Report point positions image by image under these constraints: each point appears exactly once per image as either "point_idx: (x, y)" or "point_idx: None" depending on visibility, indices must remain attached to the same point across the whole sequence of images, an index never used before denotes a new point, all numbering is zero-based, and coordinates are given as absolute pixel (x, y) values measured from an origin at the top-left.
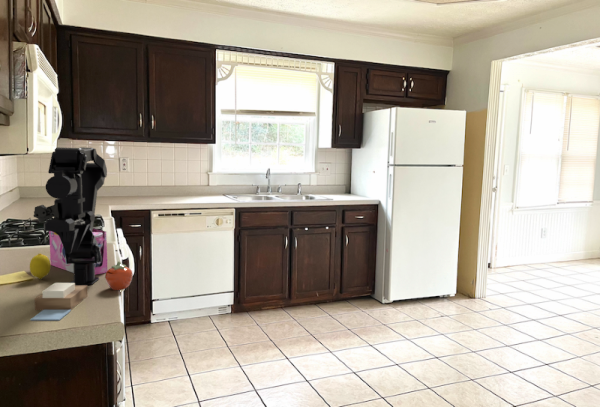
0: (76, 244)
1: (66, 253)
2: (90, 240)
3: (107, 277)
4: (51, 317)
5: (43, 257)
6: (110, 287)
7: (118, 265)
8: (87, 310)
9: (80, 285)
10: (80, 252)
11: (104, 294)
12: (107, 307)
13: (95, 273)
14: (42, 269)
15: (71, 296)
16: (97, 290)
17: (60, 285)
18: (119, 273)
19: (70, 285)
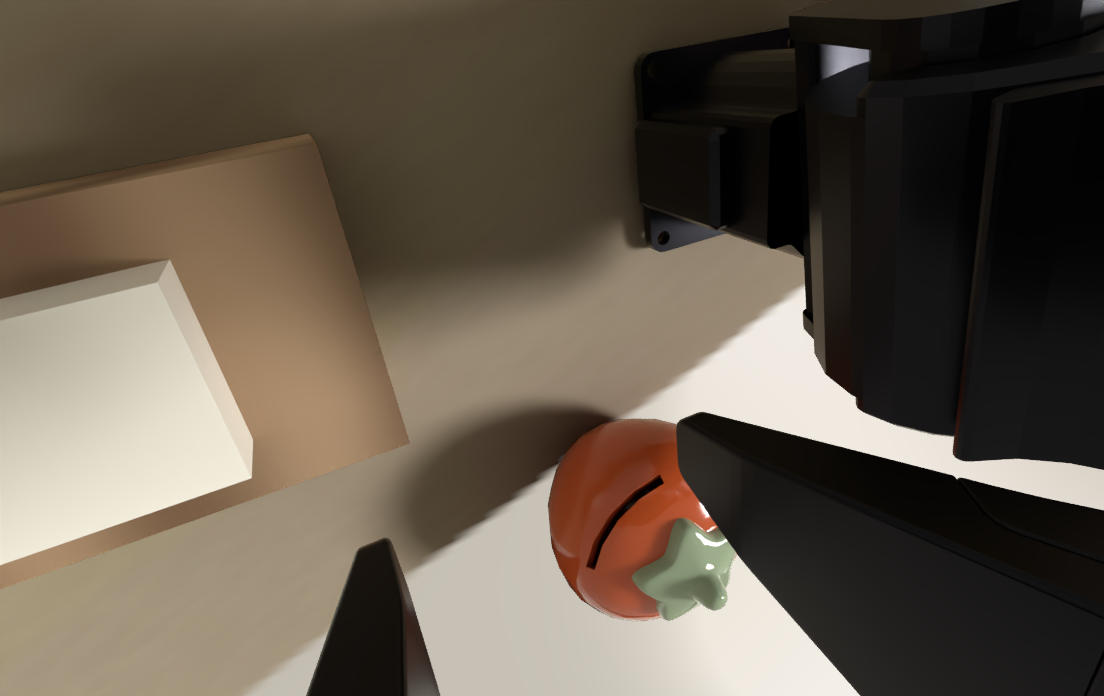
0: (747, 528)
1: (357, 558)
2: (1032, 445)
3: (576, 504)
4: None
5: None
6: (567, 451)
7: (680, 596)
8: (73, 621)
9: (390, 394)
10: (842, 281)
11: (461, 470)
12: (203, 671)
13: None
14: None
15: (24, 567)
16: (537, 368)
17: (84, 417)
18: (597, 604)
19: (139, 509)
